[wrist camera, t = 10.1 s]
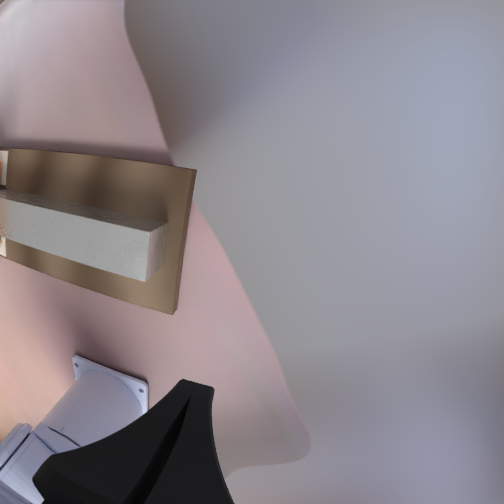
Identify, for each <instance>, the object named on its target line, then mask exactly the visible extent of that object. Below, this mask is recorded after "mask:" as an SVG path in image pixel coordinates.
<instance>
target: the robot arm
mask: <svg viewBox="0 0 504 504" xmlns="http://www.w3.org/2000/svg"><path fill="white" fill-rule="evenodd" d="M72 361H73V368H74V374H75V380H76V382H75V383H74V384H73V385H72V386H71V388H70V389H69V390H68V391H67V392H66V393H65V394H64V396H63V397H62V398H61V399H60V400H59V401H58V403H57V404H56V405H55V406H54V407H53V408H52V410H51V411H50V412H49V413H48V414H47V415H46V417H45V418H44V419H43V420H42V421H41V422H40V423H39V424H38V425H37V426H36V427H35V428H34V429H33V430H32V431H31V429H32V427H31V425H30V424H29V423H25V424H24V423H18V424H17V425H16V426H15V427H14V428H13V429H12V431H11V432H10V433H9V434H8V435H7V436H6V437H5V438H4V440H3V441H2V442H1V443H0V504H234V502H233V500H232V498H231V495H230V493H229V491H228V488H227V485H226V483H225V480H224V477H223V475H222V471H221V468H220V465H219V461H218V457H217V453H216V448H215V443H214V436H213V428H212V401H213V396H214V388H213V387H211V386H207V385H203V384H199V383H195V382H192V381H188V380H185V379H182V380H180V381H179V382H178V383H177V384H176V385H175V386H174V388H173V389H172V390H171V391H170V392H169V393H168V394H167V395H166V396H165V397H163V398H162V399H161V400H160V401H159V402H158V403H157V404H156V405H154V406H153V407H152V408H151V409H150V410H148V385H147V383H146V382H144V381H142V380H139V379H136V378H134V377H131V376H128V375H125V374H123V373H120V372H117V371H115V370H112V369H109V368H107V367H104V366H102V365H99V364H97V363H94V362H92V361H90V360H87V359H85V358H83V357H80V356H78V355H74V356H73V357H72ZM142 389H143V390H142Z"/></svg>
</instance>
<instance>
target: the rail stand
mask: <svg viewBox="0 0 504 504" xmlns="http://www.w3.org/2000/svg"><path fill="white" fill-rule="evenodd" d="M0 161H1V173H0V256H2V257H4V258H7V259H9V260H12V261H14V262H17V263H19V264H22V265H24V266H27V267H29V268H32V269H34V270H37V271H39V272H42V273H45V274H47V275H50V276H53V277H55V278H58V279H61V280H64V281H66V282H69V283H72V284H75V285H78V286H80V287H83V288H86V289H89V290H92V291H95V292H98V293H101V294H104V295H107V296H110V297H113V298H117V299H120V300H123V301H126V302H129V303H133V304H136V305H139V306H142V307H146V308H149V309H153V310H156V311H160V312H163V313H167V314H170V315H173V314H174V312H175V311H176V310H177V304H178V295H179V286H180V278H181V270H182V262H183V255H184V248H185V241H186V234H187V227H188V220H189V214H190V208H191V202H192V195H193V190H194V183H195V178H196V172H197V170H194V169H188V168H182V167H176V166H170V165H164V164H157V163H151V162H144V161H137V160H129V159H122V158H114V157H106V156H97V155H89V154H79V153H69V152H58V151H47V150H34V149H19V148H0Z"/></svg>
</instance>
